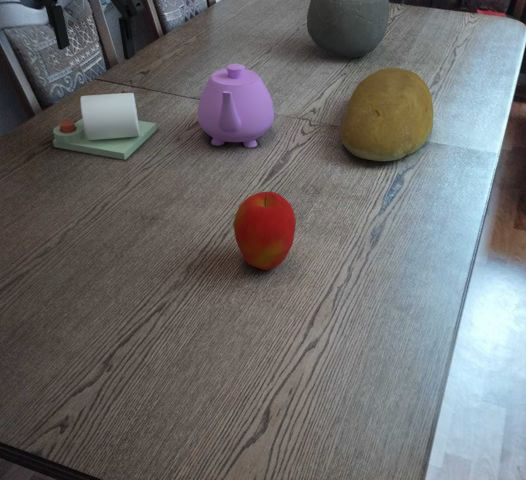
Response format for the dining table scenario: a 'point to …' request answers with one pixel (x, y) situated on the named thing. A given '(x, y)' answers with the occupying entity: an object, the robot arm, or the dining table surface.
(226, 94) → the teapot
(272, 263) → the apple
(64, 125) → the scale button
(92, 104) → the mug
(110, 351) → the dining table surface
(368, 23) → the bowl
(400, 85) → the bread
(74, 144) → the scale
